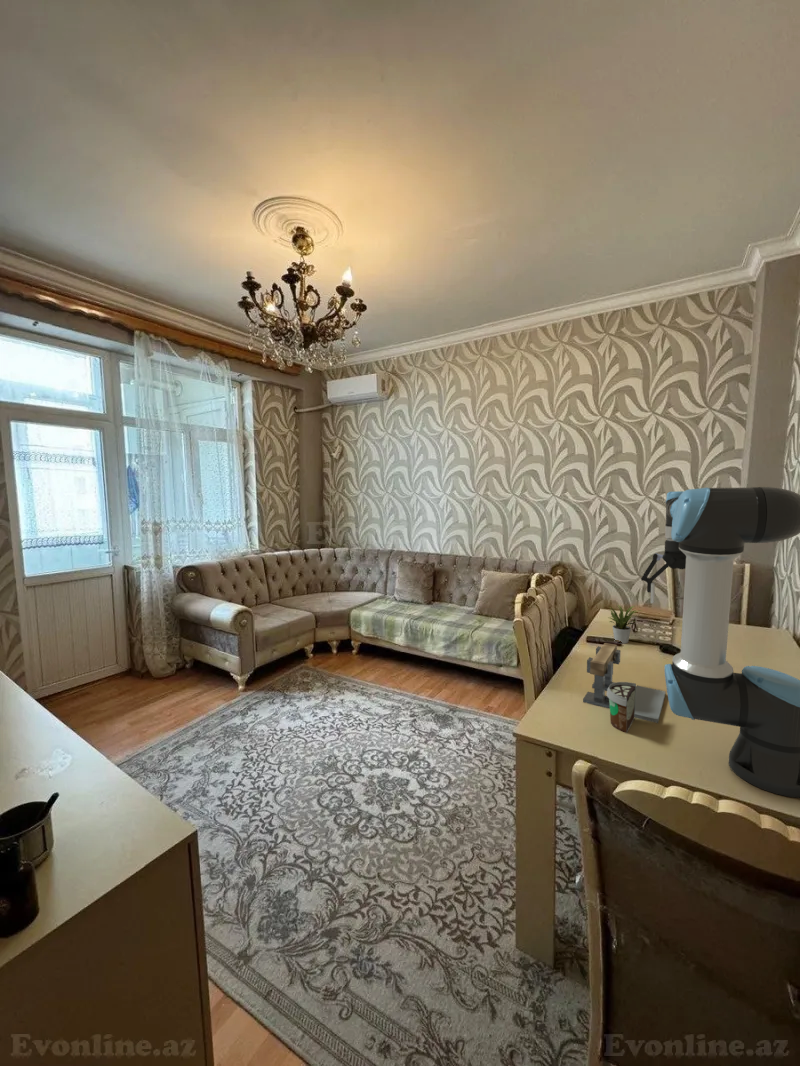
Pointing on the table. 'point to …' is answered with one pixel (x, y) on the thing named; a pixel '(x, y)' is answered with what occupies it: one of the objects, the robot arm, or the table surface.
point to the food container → (622, 704)
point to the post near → (599, 688)
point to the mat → (648, 703)
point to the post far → (616, 661)
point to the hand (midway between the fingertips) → (676, 605)
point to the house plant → (622, 624)
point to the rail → (603, 659)
